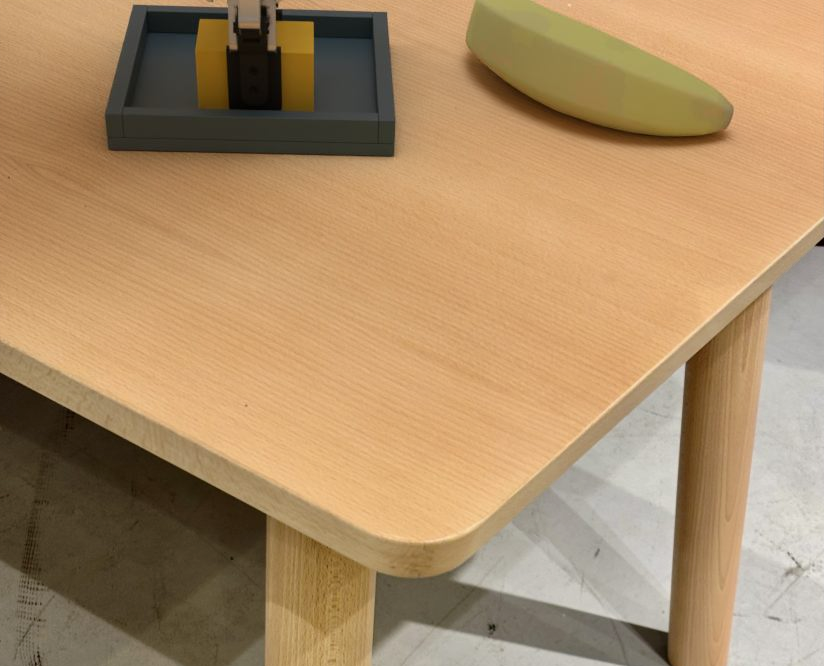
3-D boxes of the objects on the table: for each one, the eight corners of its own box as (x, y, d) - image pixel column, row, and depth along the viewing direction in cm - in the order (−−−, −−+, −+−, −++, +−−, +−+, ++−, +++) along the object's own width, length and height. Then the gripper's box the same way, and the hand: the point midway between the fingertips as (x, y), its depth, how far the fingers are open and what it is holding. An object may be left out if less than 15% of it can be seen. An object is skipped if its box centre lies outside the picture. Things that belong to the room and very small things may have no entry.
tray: (108, 150, 82) (104, 113, 80) (136, 37, 94) (133, 4, 92) (394, 156, 83) (395, 120, 82) (385, 44, 95) (387, 11, 93)
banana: (561, 38, 79) (448, -46, 95) (532, 131, 82) (426, 34, 97) (756, 79, 85) (618, -7, 100) (722, 165, 87) (594, 68, 103)
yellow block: (198, 113, 84) (195, 50, 82) (203, 80, 88) (199, 18, 85) (313, 115, 85) (313, 52, 82) (313, 82, 88) (313, 21, 86)
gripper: (186, -274, 80) (204, 33, 92) (162, -187, 67) (187, 156, 79) (316, -270, 80) (317, 35, 92) (317, -182, 68) (317, 158, 80)
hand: (256, 88), depth 86 cm, fingers closed on yellow block, 4 cm apart
